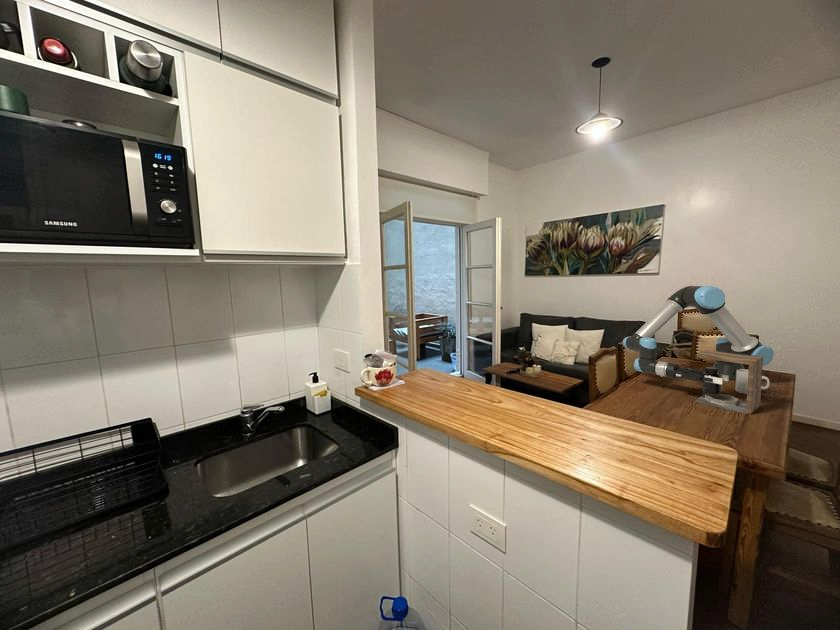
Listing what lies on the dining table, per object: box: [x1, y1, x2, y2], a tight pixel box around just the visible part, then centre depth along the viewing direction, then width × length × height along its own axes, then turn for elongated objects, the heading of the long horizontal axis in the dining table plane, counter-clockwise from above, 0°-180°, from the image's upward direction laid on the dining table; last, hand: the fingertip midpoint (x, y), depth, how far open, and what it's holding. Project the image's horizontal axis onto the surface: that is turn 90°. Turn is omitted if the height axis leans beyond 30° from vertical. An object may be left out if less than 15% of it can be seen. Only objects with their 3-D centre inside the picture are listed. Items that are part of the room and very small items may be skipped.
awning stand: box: [694, 349, 763, 415], centre depth 152 cm, size 13×20×24 cm, turn 32°
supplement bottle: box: [701, 366, 722, 394], centre depth 156 cm, size 7×7×12 cm
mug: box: [735, 368, 771, 395], centre depth 165 cm, size 12×8×11 cm
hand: (725, 379), depth 152 cm, fingers closed on supplement bottle, 7 cm apart
